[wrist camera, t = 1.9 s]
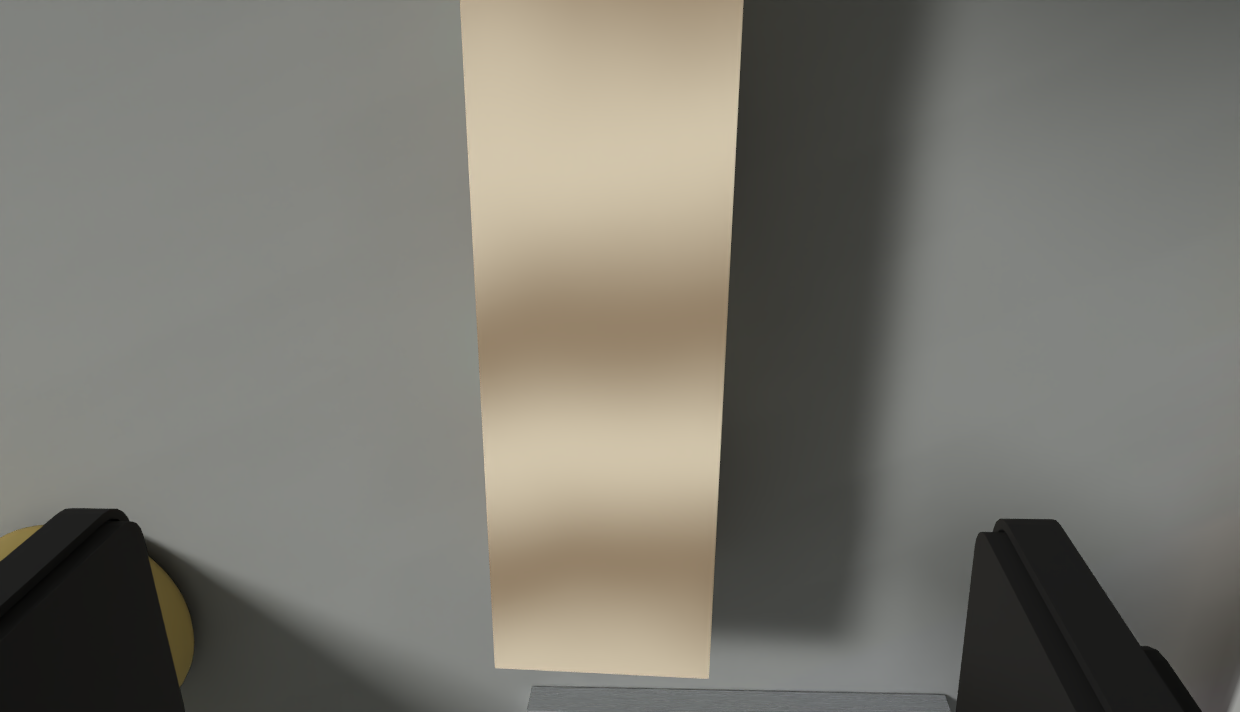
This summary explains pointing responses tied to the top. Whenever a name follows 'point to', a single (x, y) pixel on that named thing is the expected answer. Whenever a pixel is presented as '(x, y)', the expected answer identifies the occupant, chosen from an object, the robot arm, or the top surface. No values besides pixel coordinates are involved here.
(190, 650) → the brown bark cylinder
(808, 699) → the fulcrum
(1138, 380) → the top surface
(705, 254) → the beam
